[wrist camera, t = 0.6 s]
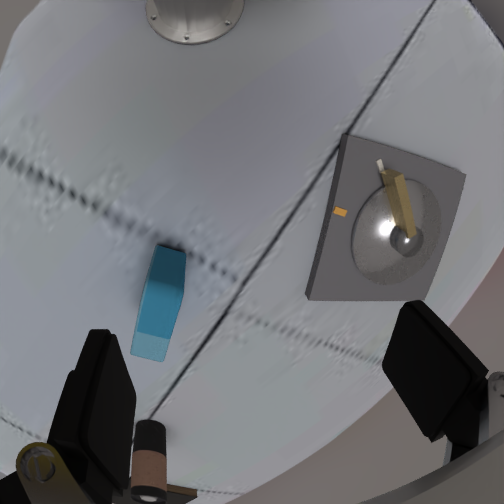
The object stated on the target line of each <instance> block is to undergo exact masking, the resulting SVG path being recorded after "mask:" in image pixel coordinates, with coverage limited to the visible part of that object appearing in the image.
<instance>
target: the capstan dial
mask: <svg viewBox="0 0 504 504" xmlns="http://www.w3.org/2000/svg"><path fill="white" fill-rule="evenodd" d="M381 175H382V178H383V182H384V186H382V187H381V188H379V189H378V190H377V191H375V192H374V193H373V194H372V195H371V196H370V197H369V198H368V200H367V201H366V202H365V203H364V205H363V207H362V208H361V210H360V212H359V214H358V216H357V218H356V221H355V223H354V227H353V231H352V237H351V250H352V256H353V260H354V262H355V264H356V266H357V268H358V269H359V271H360V272H361V273H362V274H363V275H364V276H365V277H366V278H367V279H369V280H370V281H372V282H374V283H377V284H381V285H391V284H396V283H400V282H402V281H405V280H407V279H408V278H410V277H412V276H413V275H414V274H416V273H417V272H418V271H419V270H420V269H421V268H422V267H423V266H424V265H425V264H426V262H427V261H428V260H429V258H430V257H431V255H432V253H433V252H434V250H435V248H436V245H437V243H438V240H439V236H440V231H441V210H440V206H439V203H438V201H437V199H436V197H435V195H434V194H433V192H432V191H431V190H430V189H429V188H428V187H426V186H425V185H423V184H421V183H419V182H416V181H413V180H407V179H404V175H403V173H400V172H398V171H395V170H392V169H390V168H389V169H387V170H385V171H383V172H381Z"/></svg>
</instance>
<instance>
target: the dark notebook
mask: <svg viewBox="0 0 504 504" xmlns="http://www.w3.org/2000/svg"><path fill="white" fill-rule="evenodd" d="M130 496H131V478H130V479H129V486H128V489H126V490H125V489H123V497H118V496H112V503H114V504H140V503H137V502H135V501H133V500H132V499H131V498H130ZM195 498H197V490H196V489H190V488H185V487H180V486H175V485H169V484H167V503H166V504H186V503H188V502H190V501H191V500H193V499H195Z"/></svg>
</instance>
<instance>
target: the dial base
mask: <svg viewBox="0 0 504 504" xmlns="http://www.w3.org/2000/svg"><path fill="white" fill-rule="evenodd" d="M389 168H390V169H392V170H395V171H398V172H400V173H403V175H404V179H407V180H413V181H416V182H419V183H421V184H423V185H425V186H426V187H428V188H429V189H430V190H431V191H432V192H433V194H434V195H435V197H436V199H437V201H438V203H439V206H440V210H441V231H440V236H439V240H438V243H437V245H436V248H435V250H434V252H433V253H432V255H431V257H430V258H429V260H428V261H427V262H426V264H425V265H424V266H423V267H422V268H421V269H420V270H419V271H418V272H417V273H416V274H414V275H413V276H412V277H410V278H408V279H407V280H405V281H402V282H400V283H396V284H391V285H381V284H377V283H374V282H372V281H370V280H369V279H367V278H366V277H365V276H364V275H363V274H362V273H361V272H360V271H359V269H358V268H357V266H356V264H355V262H354V260H353V256H352V250H351V237H352V231H353V227H354V223H355V221H356V218H357V216H358V214H359V212H360V210H361V208H362V207H363V205H364V203H365V202H366V201H367V200H368V198H369V197H370V196H371V195H372V194H373V193H374V192H375V191H377V190H378V189H379V188H381V187H382V186H384V182H383V178H382V175H381V172H383V171H385V170H387V169H389ZM465 178H466V174H464V173H462V172H459V171H457V170H454V169H452V168H449V167H446V166H444V165H441V164H439V163H436V162H433V161H430V160H428V159H425V158H422V157H419V156H416V155H413V154H410V153H407V152H404V151H401V150H398V149H395V148H392V147H388V146H385V145H382V144H378V143H375V142H372V141H368V140H364V139H361V138H357V137H353V136H350V135H345V134H342V137H341V143H340V148H339V153H338V158H337V163H336V168H335V172H334V177H333V182H332V186H331V191H330V196H329V200H328V204H327V209H326V213H325V217H324V222H323V226H322V230H321V234H320V238H319V242H318V246H317V250H316V254H315V258H314V262H313V266H312V270H311V274H310V277H309V281H308V285H307V288H306V292H305V295H306V296H307V298H308V300H312V301H414V300H425V298H426V295H427V293H428V291H429V288H430V286H431V283H432V281H433V279H434V276H435V273H436V271H437V268H438V266H439V263H440V260H441V258H442V255H443V252H444V249H445V246H446V243H447V241H448V238H449V235H450V231H451V228H452V225H453V222H454V219H455V215H456V212H457V208H458V205H459V201H460V198H461V194H462V190H463V186H464V182H465Z"/></svg>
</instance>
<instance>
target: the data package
mask: <svg viewBox="0 0 504 504" xmlns="http://www.w3.org/2000/svg"><path fill="white" fill-rule="evenodd" d="M185 266H186V254H185V253H183V252H179V251H176V250H172V249H169V248H165V247H162V246H158V245H157V246H156V247H155V250H154V253H153V257H152V260H151V263H150V267H149V270H148V274H147V278H146V281H145V285H144V289H143V293H142V298H141V302H140V307H139V311H138V316H137V321H136V326H135V331H134V336H133V341H132V346H131V352H130V353H131V355H134V356H138V357H142V358H146V359H150V360H154V361H159V362H163V361H164V359H165V355H166V352H167V348H168V345H169V342H170V338H171V335H172V332H173V328H174V325H175V322H176V319H177V315H178V312H179V309H180V306H181V302H182V298H183V293H184V282H185Z"/></svg>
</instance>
